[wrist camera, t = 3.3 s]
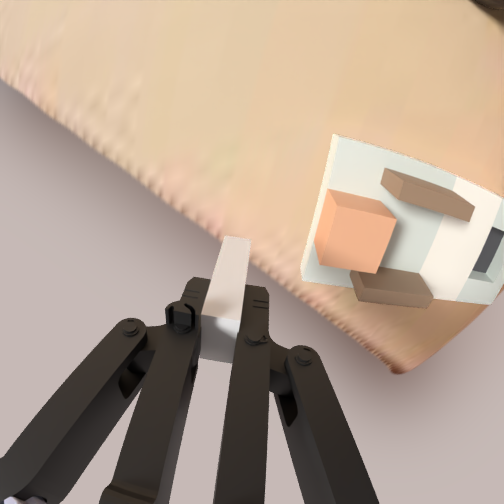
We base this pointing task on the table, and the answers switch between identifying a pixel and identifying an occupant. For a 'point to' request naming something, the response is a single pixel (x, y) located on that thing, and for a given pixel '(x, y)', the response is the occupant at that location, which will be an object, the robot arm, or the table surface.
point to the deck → (415, 229)
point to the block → (353, 232)
